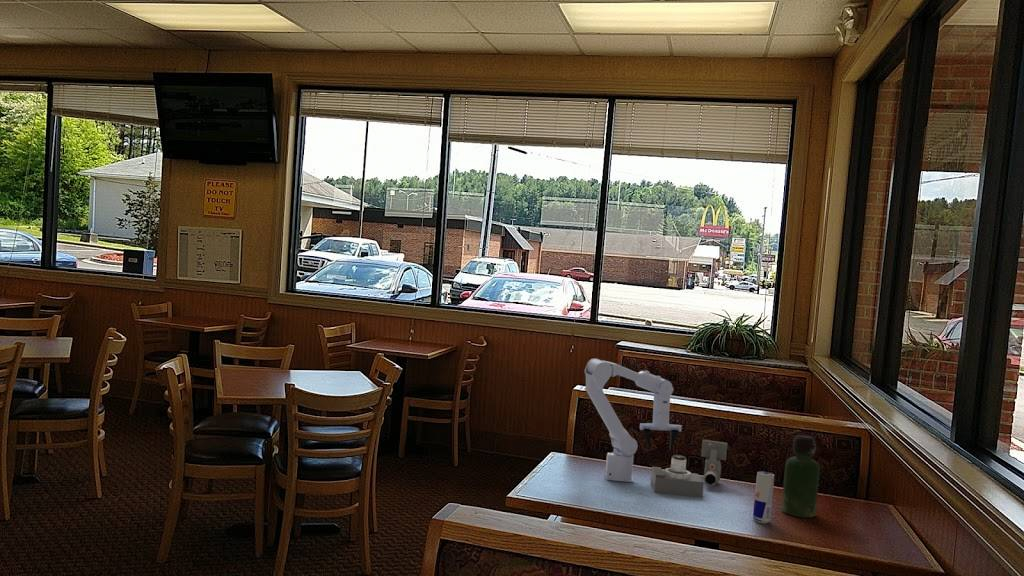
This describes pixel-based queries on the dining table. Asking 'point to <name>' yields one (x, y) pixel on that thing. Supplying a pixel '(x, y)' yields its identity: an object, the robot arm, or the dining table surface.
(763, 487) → the beverage can
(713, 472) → the camera
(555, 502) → the dining table surface
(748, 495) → the dining table surface
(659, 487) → the mount block
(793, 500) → the green bottle
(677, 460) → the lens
